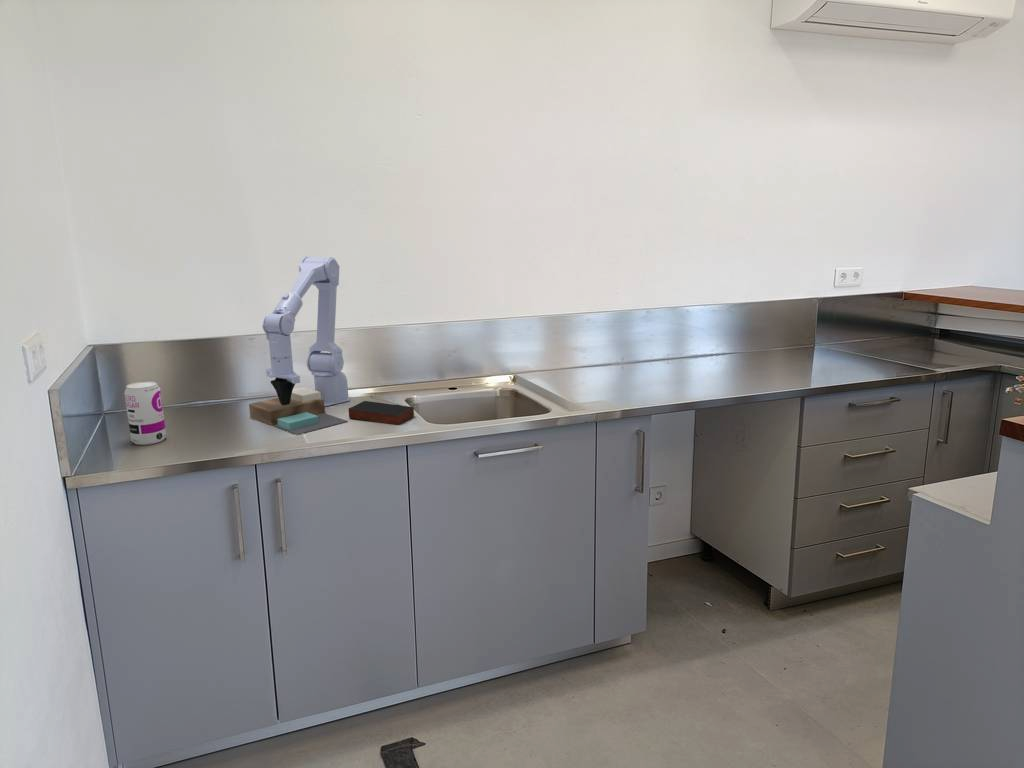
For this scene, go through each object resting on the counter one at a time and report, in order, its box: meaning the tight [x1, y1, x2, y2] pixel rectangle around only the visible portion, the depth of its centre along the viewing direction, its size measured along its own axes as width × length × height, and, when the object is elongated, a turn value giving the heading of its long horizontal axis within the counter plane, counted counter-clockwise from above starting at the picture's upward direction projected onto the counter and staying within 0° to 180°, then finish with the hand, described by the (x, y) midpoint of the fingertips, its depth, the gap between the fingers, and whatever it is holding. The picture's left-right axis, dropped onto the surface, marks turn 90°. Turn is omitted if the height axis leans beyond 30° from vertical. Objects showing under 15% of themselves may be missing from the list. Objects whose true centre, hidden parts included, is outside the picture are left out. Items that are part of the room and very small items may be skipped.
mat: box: [272, 412, 349, 435], centre depth 202 cm, size 16×12×1 cm
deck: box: [248, 397, 326, 427], centre depth 210 cm, size 17×12×4 cm
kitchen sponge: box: [348, 395, 415, 426], centre depth 210 cm, size 19×3×15 cm
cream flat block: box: [291, 386, 321, 403], centre depth 214 cm, size 9×6×2 cm, turn 47°
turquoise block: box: [277, 412, 319, 430], centre depth 200 cm, size 9×6×2 cm, turn 137°
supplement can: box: [124, 381, 167, 446], centre depth 187 cm, size 8×8×15 cm
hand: (285, 404), depth 204 cm, fingers closed
